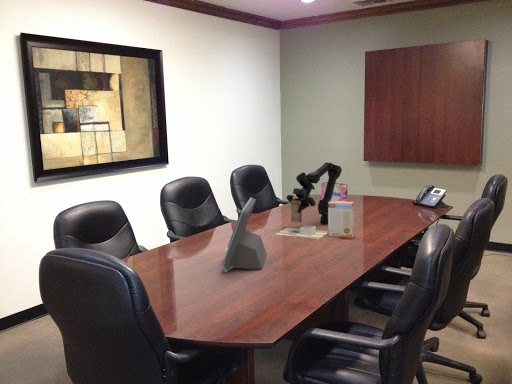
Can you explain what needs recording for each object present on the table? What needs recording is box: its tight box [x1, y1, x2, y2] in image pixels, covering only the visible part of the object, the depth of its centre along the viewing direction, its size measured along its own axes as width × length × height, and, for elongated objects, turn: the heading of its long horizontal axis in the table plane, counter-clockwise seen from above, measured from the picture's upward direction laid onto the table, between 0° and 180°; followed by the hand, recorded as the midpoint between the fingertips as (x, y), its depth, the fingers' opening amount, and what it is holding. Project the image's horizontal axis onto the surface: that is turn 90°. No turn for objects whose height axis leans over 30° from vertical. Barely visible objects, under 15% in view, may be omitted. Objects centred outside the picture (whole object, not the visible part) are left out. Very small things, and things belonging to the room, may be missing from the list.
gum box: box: [320, 181, 349, 202], centre depth 394 cm, size 24×8×14 cm, turn 38°
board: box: [275, 227, 328, 240], centre depth 289 cm, size 18×28×1 cm, turn 62°
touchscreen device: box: [222, 197, 268, 273], centre depth 236 cm, size 35×20×30 cm, turn 174°
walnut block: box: [290, 200, 303, 224], centre depth 289 cm, size 4×4×13 cm
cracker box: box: [327, 200, 355, 240], centre depth 278 cm, size 14×6×21 cm, turn 65°
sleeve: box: [299, 225, 317, 236], centre depth 286 cm, size 7×7×4 cm
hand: (294, 211), depth 288 cm, fingers closed on walnut block, 4 cm apart
